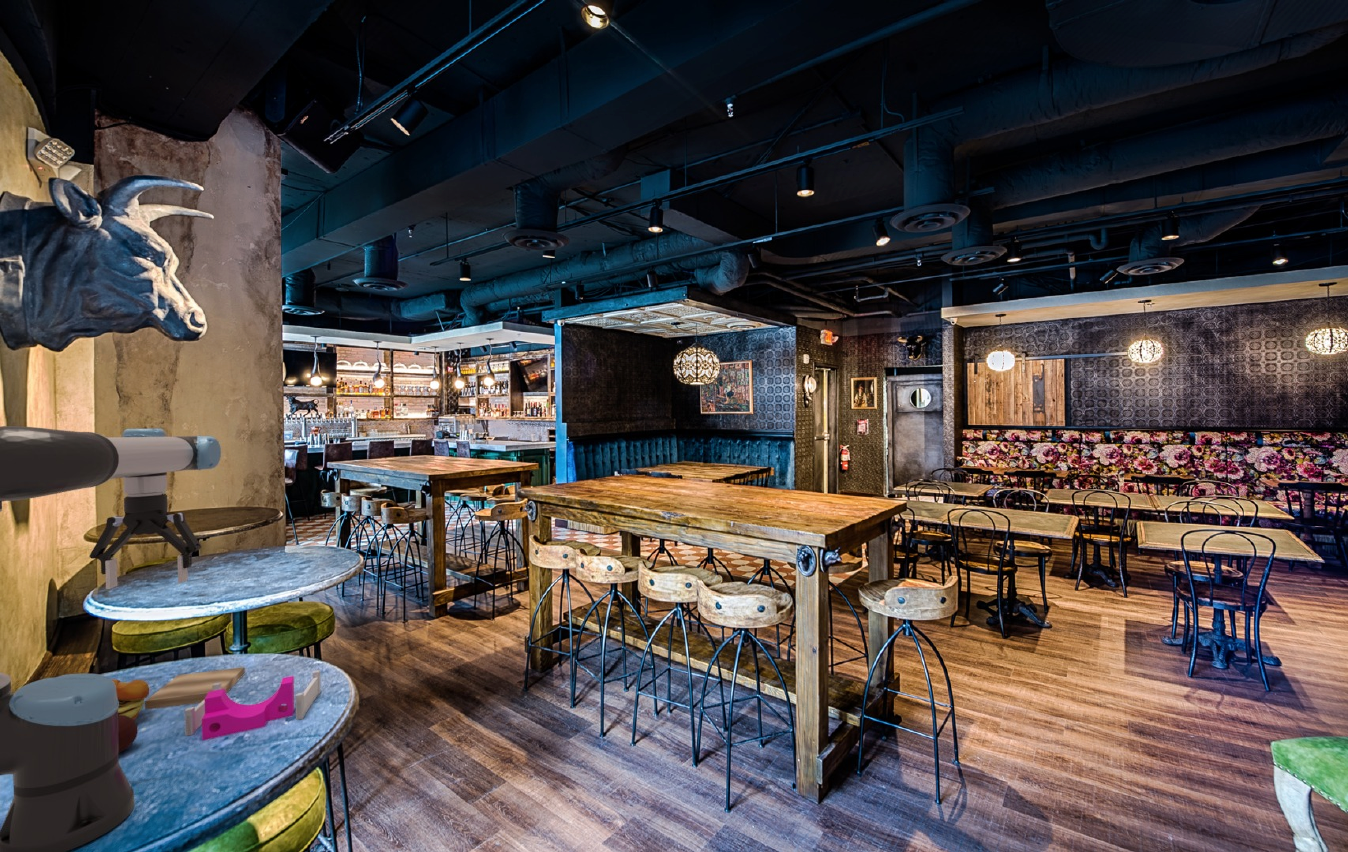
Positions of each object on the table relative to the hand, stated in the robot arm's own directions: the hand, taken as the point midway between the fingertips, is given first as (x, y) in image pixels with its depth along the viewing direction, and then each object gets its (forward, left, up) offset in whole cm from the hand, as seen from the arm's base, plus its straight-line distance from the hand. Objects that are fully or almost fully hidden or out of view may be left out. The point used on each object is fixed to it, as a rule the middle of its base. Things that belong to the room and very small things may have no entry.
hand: (147, 584), depth 135 cm
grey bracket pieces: (-17, -27, -26) cm, 42 cm away
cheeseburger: (-14, +1, -27) cm, 30 cm away
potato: (-26, -6, -27) cm, 38 cm away
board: (0, -9, -26) cm, 28 cm away
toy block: (-22, -28, -27) cm, 44 cm away
